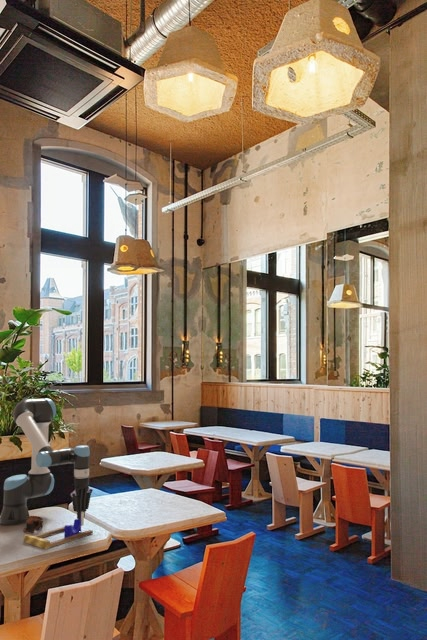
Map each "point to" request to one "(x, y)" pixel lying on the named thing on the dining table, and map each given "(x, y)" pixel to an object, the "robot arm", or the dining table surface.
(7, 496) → the robot arm
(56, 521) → the dining table surface
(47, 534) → the guide lane
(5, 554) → the dining table surface
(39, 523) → the pottery mug
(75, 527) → the cable clip
